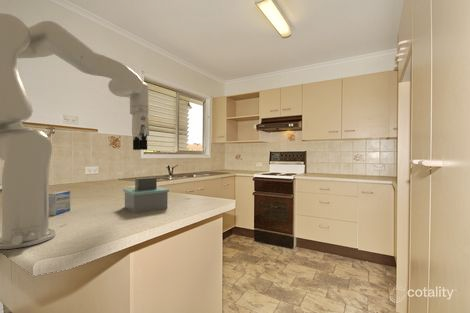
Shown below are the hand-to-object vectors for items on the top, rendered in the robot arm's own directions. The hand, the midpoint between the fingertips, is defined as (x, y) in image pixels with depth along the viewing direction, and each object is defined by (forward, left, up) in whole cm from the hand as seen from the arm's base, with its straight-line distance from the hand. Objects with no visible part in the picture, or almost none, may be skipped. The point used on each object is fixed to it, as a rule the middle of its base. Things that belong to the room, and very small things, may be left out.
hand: (139, 149), depth 97 cm
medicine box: (+16, +28, -27) cm, 42 cm away
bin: (-1, -2, -27) cm, 27 cm away
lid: (-1, -2, -19) cm, 19 cm away
